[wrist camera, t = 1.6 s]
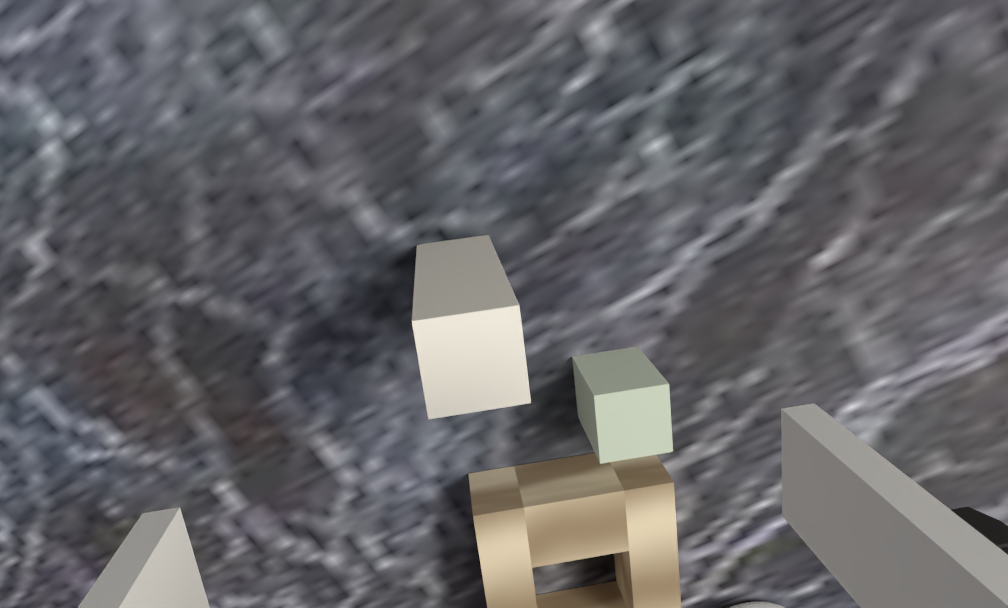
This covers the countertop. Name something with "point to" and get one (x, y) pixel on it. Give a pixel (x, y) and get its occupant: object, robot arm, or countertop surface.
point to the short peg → (623, 404)
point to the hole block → (578, 530)
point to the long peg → (467, 329)
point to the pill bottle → (757, 605)
